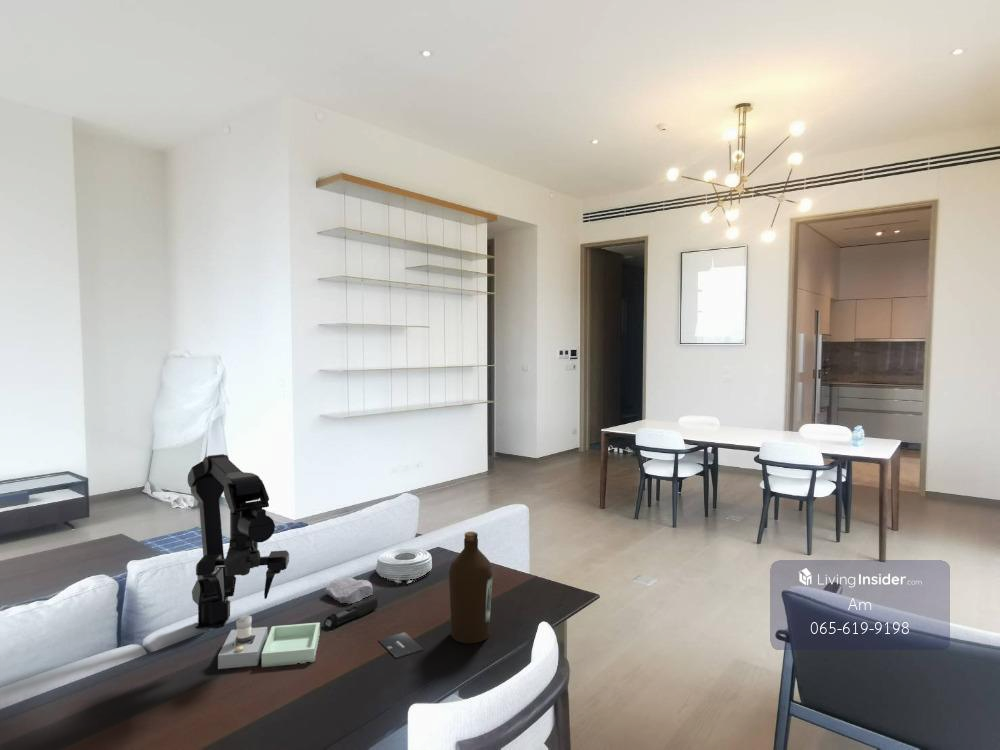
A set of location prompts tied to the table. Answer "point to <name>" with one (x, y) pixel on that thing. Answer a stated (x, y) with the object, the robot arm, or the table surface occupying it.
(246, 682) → the table surface
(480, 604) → the olive oil
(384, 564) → the cable
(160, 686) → the table surface
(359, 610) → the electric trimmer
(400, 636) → the solid state drive
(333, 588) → the stone block
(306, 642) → the tray
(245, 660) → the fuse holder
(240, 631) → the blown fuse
